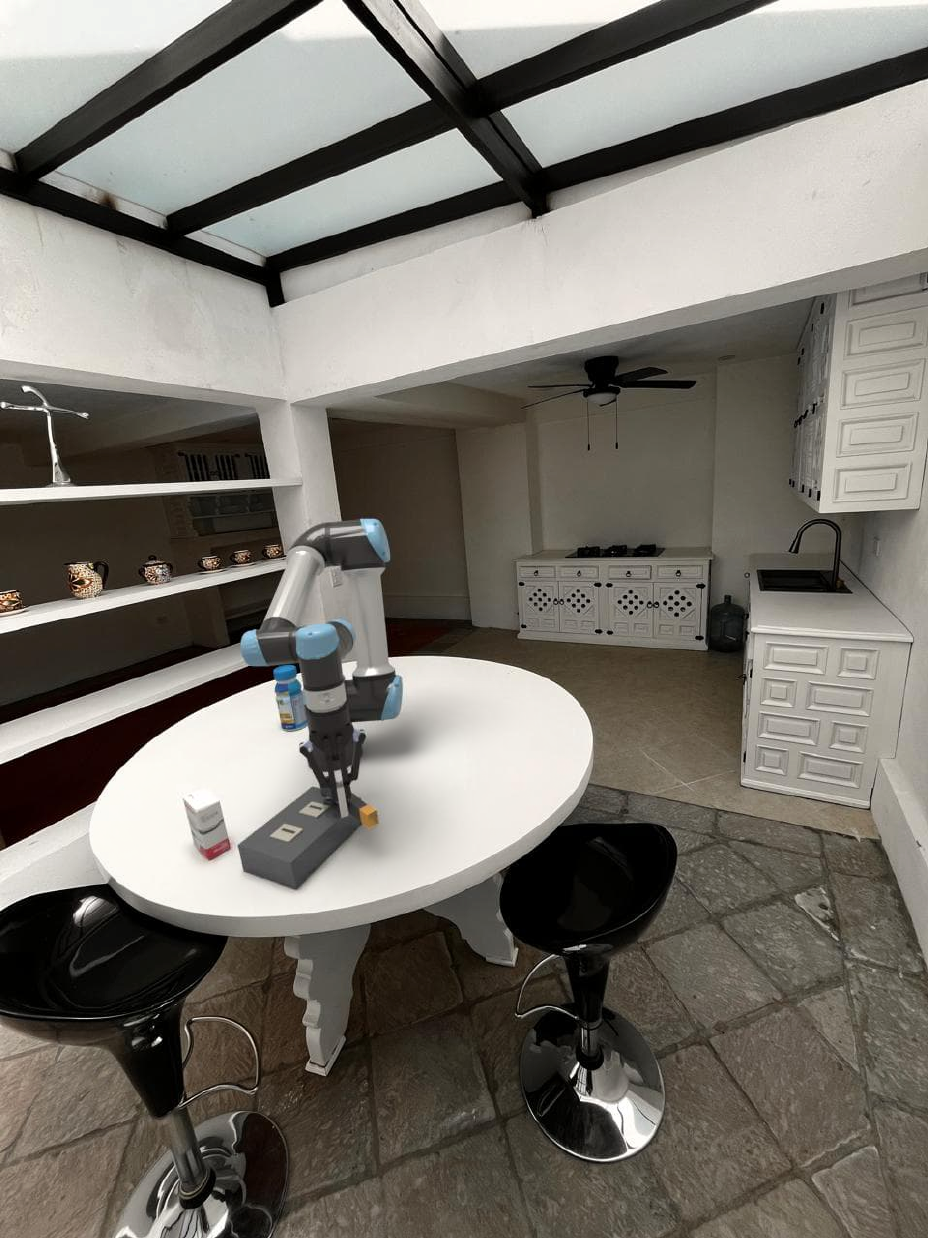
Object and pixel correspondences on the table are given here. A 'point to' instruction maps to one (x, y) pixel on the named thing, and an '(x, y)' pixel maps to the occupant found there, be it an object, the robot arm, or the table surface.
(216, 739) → the table surface
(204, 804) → the ink box
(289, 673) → the beverage bottle
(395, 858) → the table surface
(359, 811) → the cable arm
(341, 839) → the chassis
